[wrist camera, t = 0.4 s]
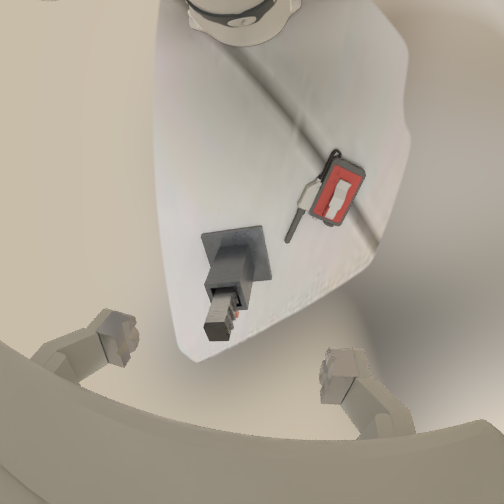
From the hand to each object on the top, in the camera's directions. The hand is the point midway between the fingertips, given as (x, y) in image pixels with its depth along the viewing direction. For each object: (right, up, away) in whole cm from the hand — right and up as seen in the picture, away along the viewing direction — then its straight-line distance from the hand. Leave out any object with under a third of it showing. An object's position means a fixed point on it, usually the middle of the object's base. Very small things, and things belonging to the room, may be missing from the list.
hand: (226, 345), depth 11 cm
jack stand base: (-2, +3, +46) cm, 46 cm away
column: (-2, +2, +45) cm, 45 cm away
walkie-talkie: (+14, +13, +38) cm, 43 cm away
